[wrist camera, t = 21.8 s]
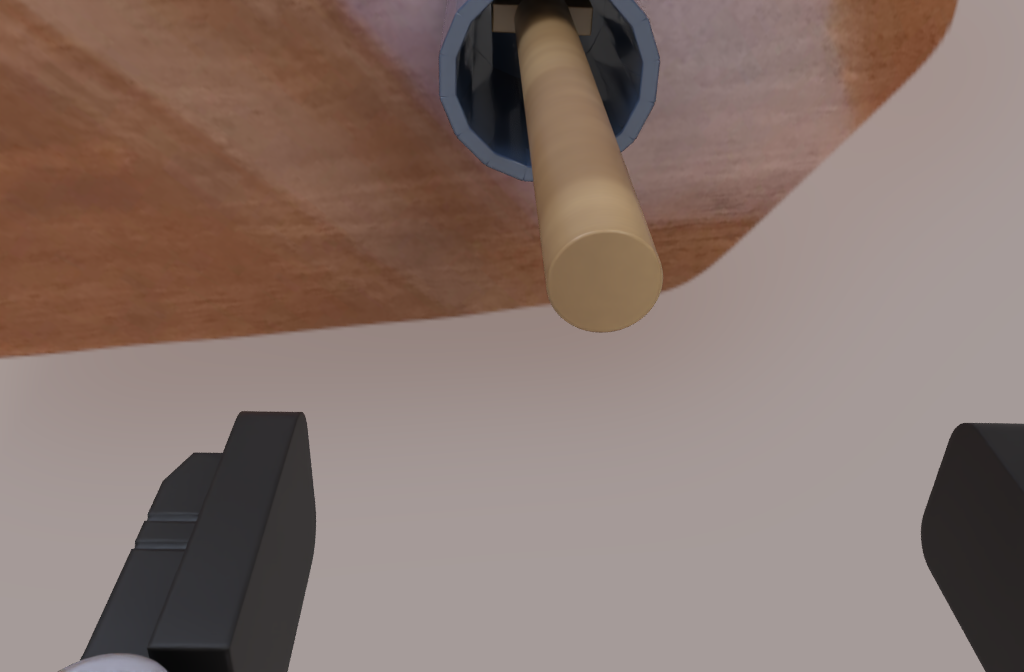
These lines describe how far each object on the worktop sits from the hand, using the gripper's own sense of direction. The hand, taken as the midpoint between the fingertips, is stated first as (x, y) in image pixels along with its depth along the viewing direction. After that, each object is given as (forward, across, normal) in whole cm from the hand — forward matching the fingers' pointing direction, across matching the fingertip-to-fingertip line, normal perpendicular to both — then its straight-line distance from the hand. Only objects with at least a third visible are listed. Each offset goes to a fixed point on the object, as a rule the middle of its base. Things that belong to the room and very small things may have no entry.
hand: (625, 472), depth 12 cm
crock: (+27, 0, 0) cm, 27 cm away
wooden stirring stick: (+27, 0, -1) cm, 27 cm away
